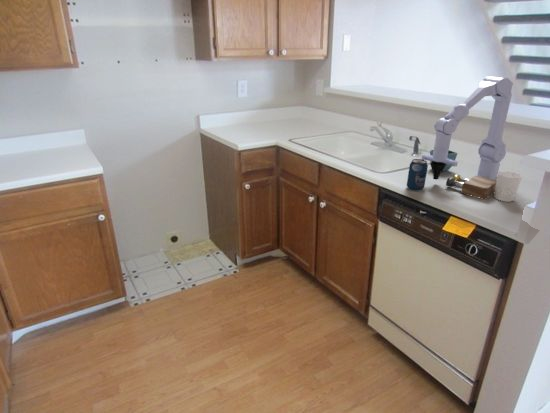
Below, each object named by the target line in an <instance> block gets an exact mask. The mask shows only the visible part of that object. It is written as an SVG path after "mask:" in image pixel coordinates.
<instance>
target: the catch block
mask: <svg viewBox="0 0 550 413" xmlns="http://www.w3.org/2000/svg"><path fill="white" fill-rule="evenodd" d="M468 179H469V180H467V181H466V182H464V183H463V186H462V188H461V193H464V194H463V195H465V194H468V195H467V196H469V195H472V196H471V197H473V196H476V197H475V198H477V197H480V198H479V199H481V198H483V199H482V200H484V199H485V198H486V199H487V198H489V197H490V196H491V194H492V195H493V194H495V187H496V181H497V180H493V179H488V178H484V177H480V176H477V175H474V176H473V177H471V178H468ZM461 193H460V194H461ZM488 196H489V197H488ZM486 199H485V200H486Z"/></svg>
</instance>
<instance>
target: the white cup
mask: <svg viewBox="0 0 550 413" xmlns="http://www.w3.org/2000/svg"><path fill="white" fill-rule="evenodd" d="M522 177H523V176H522V174H520V173H517V172H515V171H505V170H501V171H498V174H497V181H496V187H495V192H494V193H493V194H494V195H493V198H494V197H495V198H496V200H497V199H498V201H500V200H501V202H506V203H507V202H508V203H509V202H513V201H514V199H515V196H516V194H517V192H518V189H519V186H520V183H521V180H522ZM495 198H494V199H495Z"/></svg>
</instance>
